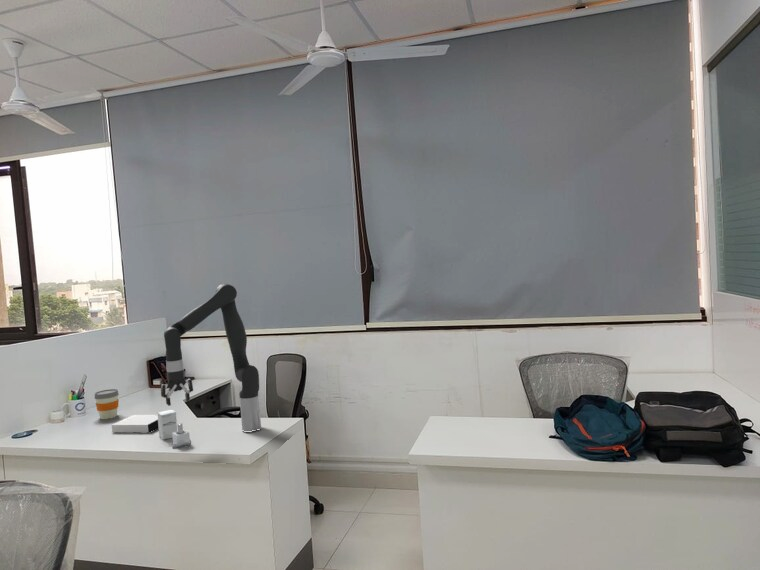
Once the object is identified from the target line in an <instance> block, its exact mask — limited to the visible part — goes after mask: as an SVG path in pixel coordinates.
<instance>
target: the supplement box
mask: <svg viewBox="0 0 760 570" xmlns="http://www.w3.org/2000/svg"><path fill="white" fill-rule="evenodd" d="M156 415H158V426H159V428H158V435H159V438H160V437H161V438H162V439H161V438H160V439H161V440H163V441H164V440H168V439H173V438H172V433H174V432H177V431H178V423H177V422H178V420H177V412H176V411H175V410H173V409H168V410H164V411H158V412H157V413H156Z"/></svg>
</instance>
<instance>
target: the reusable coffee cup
mask: <svg viewBox="0 0 760 570" xmlns="http://www.w3.org/2000/svg"><path fill="white" fill-rule="evenodd" d="M94 399H95V407H96V410H97V411H98V415H99V419H100V420H108V418H110V419H113V417H114V418H116V417H117V416H118V408H119V402H120V401H119V390H118V389H117V388H112V389H111V388H110V389H103V390H99V391H96V392H95V393H94ZM115 416H116V417H115Z"/></svg>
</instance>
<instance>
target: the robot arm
mask: <svg viewBox="0 0 760 570" xmlns="http://www.w3.org/2000/svg"><path fill="white" fill-rule="evenodd" d="M237 295H238V292H237V289H236V287H235V286H234V285H231V284H229V283H222V284H219V285H218V286H217V287H216V289H215V293H214V295H212V296H211V297H210V298H209V299H208V300H207V301H205V302H203V303H202V304H200V305H198V306H197V307H196V308H193V309H192V310H191V311H189V312H188V313H187V314H184V315H183V317H181V318H180V319H179V320H178V321H176V322H175V323H173V324H171V325H170V326H168V328H166V329H165V330H164V333H163V338H164V345H165V359H166V361H165V362H166V363H165V364H166V375H167V376H166V377H167V383H165V384H164V383H162V384H161V385H160V396H161V397H162V398H163V399H164V398H165V403H166V405H167V406H169V407H171V406H172V403H171V398H170V397H171V396H172V394H173V393H174V392H175V393H176V392H178V391H184V395H185V396H184V397H185V402H188V403H189V402H190V400H191V399H190V393H192V392H194V385H193V380H192V379H191V378H187V379H185V367H184V366H185V365H184V361H183V352H182V346H181V345H182V342H181V339H182V338H181V337H182V336H184V334H186V333H187V332H190V331H192V330H193V329H195V328H196V327H197V326H198V325H199V324H201V323H202V322H203V321H204V320H205V319H207V318H208V317H210V316H211V315H212V314H214V313H215V312H216V311H218V310H219V309H220V311H221V314H222V320H223V326H224V330H225V335H226V339H227V342H228V345H229V349H230V353H231V358H232V361H233V362H232V363H233V370H234V374H235V378H236V380H237V381H239V382H241V390H240V391H239V394H238V395H239V406H240V417H241V419H240V420H241V430H244V431H252V430H257V429H261V430H262V421H261V409H260V401H259V400H260V399H259V391H260V374H259V370H258V368H257V367H256V366H254V365H251V364H250V362H249V360H248V359H249V358H248V356H247V343H248V342H247V341H248V338H247V332H246V329H245V326H244V323H243V320H242V318H241V315H240V314H239V312H238V309H237V304H236V298H237ZM186 384H187V387H188V388H187V387H186ZM167 387H168V390H167V392H166V389H167Z"/></svg>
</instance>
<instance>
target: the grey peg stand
mask: <svg viewBox="0 0 760 570" xmlns="http://www.w3.org/2000/svg"><path fill="white" fill-rule="evenodd" d="M183 430H184V427H183V423H177V431H178V434H182V433H183ZM190 441H191V439H190ZM172 444H173V443H172ZM188 445H190V444H189V443H187V444H183V445H180V446H177V445H175V444H173V445H172V446H171V447H172V449H177V447H180V448H186V447H185V446H188ZM188 447H189V446H188Z"/></svg>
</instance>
